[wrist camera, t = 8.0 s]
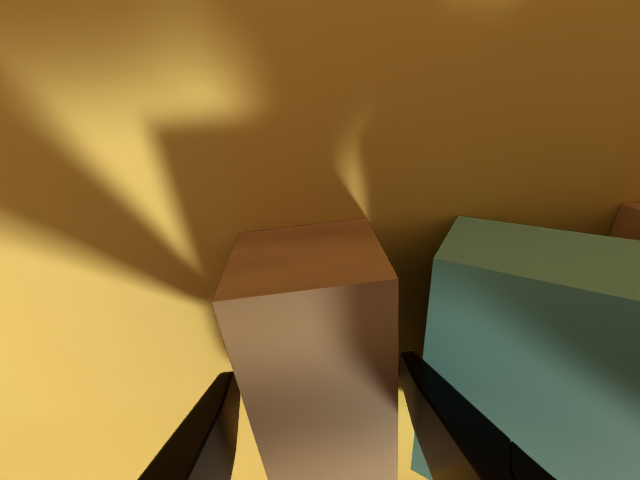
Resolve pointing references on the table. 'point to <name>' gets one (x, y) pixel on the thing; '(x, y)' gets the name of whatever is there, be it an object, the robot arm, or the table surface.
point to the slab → (542, 342)
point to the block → (315, 349)
